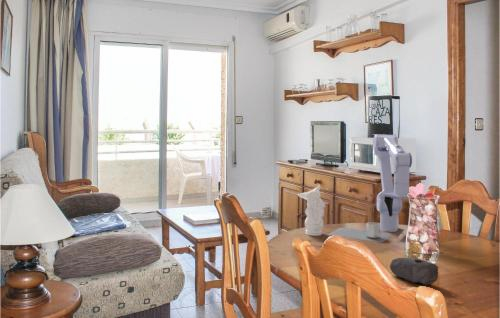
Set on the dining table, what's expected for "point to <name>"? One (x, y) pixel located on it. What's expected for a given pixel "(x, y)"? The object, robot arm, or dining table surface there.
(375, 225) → the steel collar
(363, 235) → the post board
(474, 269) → the dining table surface
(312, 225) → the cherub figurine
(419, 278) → the perforated stone tool
